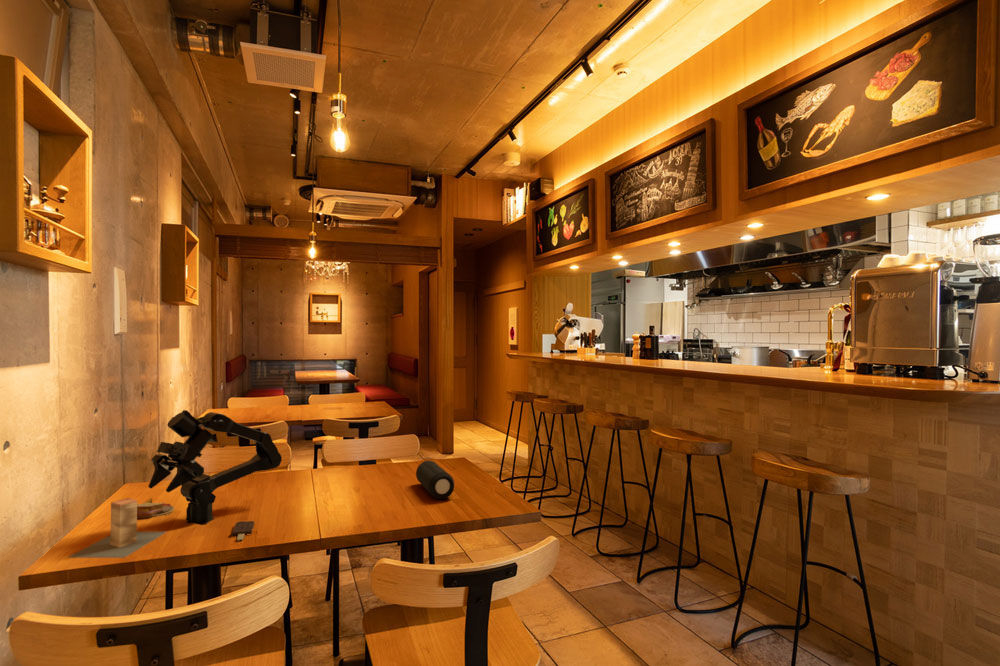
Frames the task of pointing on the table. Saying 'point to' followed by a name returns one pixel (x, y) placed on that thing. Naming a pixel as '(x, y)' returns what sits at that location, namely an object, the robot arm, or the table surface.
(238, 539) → the ice cream bar
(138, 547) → the rubber mat
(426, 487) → the portable speaker
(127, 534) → the maple block
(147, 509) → the toy sandwich meal
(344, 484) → the table surface
